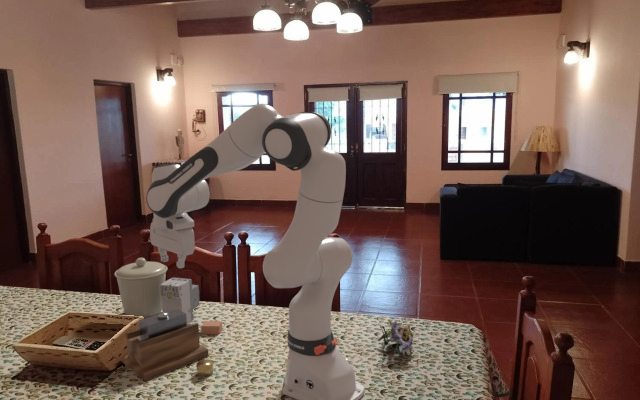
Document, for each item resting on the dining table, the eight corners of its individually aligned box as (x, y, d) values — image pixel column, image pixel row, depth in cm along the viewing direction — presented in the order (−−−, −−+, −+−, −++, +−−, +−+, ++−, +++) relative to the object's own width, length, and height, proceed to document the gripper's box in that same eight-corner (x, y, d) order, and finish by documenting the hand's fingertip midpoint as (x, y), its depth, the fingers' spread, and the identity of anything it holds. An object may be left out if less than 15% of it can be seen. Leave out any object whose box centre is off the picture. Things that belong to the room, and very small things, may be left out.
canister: (125, 327, 164) (121, 268, 160) (112, 311, 178) (107, 256, 175) (177, 315, 175) (173, 259, 171) (160, 300, 189) (157, 248, 185)
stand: (208, 355, 144) (207, 326, 143) (144, 381, 130) (142, 348, 129) (182, 338, 155) (180, 311, 154) (120, 360, 142) (118, 330, 140)
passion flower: (406, 371, 145) (408, 352, 137) (372, 358, 149) (372, 340, 140) (416, 339, 152) (419, 319, 144) (383, 328, 156) (384, 308, 147)
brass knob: (216, 373, 134) (215, 363, 134) (202, 379, 131) (202, 369, 131) (207, 367, 137) (207, 357, 137) (194, 373, 134) (193, 363, 134)
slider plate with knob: (142, 344, 134) (141, 324, 133) (134, 338, 138) (132, 318, 137) (192, 327, 145) (191, 308, 144) (183, 322, 149) (182, 304, 148)
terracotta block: (222, 329, 163) (222, 321, 162) (219, 334, 159) (219, 326, 158) (204, 329, 163) (204, 321, 162) (201, 334, 159) (201, 326, 159)
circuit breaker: (202, 312, 177) (200, 273, 174) (181, 328, 163) (178, 286, 161) (184, 310, 179) (182, 272, 176) (162, 326, 165) (159, 284, 163)
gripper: (143, 215, 145) (146, 259, 148) (177, 225, 131) (180, 274, 133) (162, 212, 150) (165, 255, 152) (197, 222, 136) (200, 269, 138)
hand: (172, 264), depth 143 cm, fingers open, 8 cm apart
